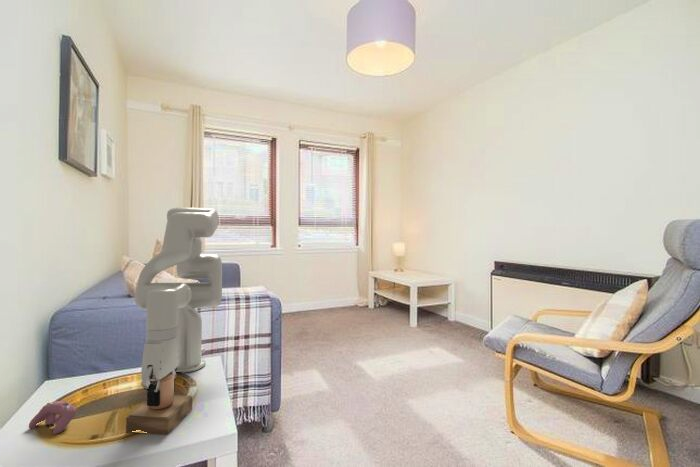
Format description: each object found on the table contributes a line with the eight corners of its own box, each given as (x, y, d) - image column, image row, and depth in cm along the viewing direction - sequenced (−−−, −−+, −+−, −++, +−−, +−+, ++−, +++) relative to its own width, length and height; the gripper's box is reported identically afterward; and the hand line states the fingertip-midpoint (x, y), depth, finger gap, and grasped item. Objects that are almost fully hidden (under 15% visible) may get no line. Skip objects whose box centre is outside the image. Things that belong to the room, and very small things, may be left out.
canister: (157, 397, 97) (157, 371, 97) (178, 398, 96) (178, 372, 96) (143, 408, 91) (143, 380, 91) (165, 409, 90) (165, 381, 90)
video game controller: (71, 433, 90) (83, 403, 93) (54, 434, 86) (67, 403, 89) (42, 427, 92) (55, 398, 95) (24, 428, 88) (38, 398, 91)
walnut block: (155, 408, 100) (155, 393, 100) (192, 409, 99) (192, 395, 99) (126, 432, 88) (126, 416, 88) (167, 434, 87) (168, 418, 87)
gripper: (167, 324, 102) (166, 384, 102) (126, 343, 85) (125, 415, 85) (191, 325, 102) (191, 385, 102) (155, 344, 84) (155, 417, 85)
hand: (161, 398), depth 94 cm, fingers open, 6 cm apart
